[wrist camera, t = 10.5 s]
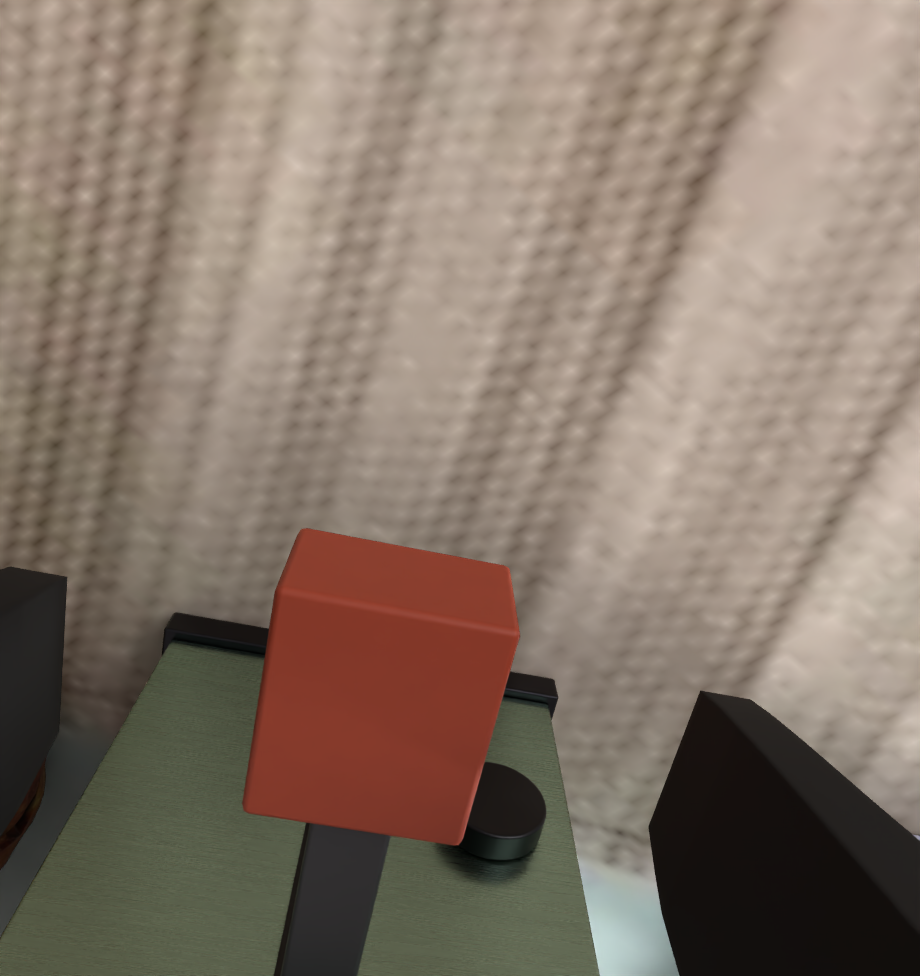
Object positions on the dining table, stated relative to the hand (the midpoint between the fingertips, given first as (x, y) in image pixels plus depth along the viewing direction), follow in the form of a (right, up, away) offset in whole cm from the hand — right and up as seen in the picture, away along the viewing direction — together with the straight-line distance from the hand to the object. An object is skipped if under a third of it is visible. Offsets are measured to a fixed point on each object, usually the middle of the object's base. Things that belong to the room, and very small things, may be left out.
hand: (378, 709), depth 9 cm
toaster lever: (0, -1, +2) cm, 2 cm away
